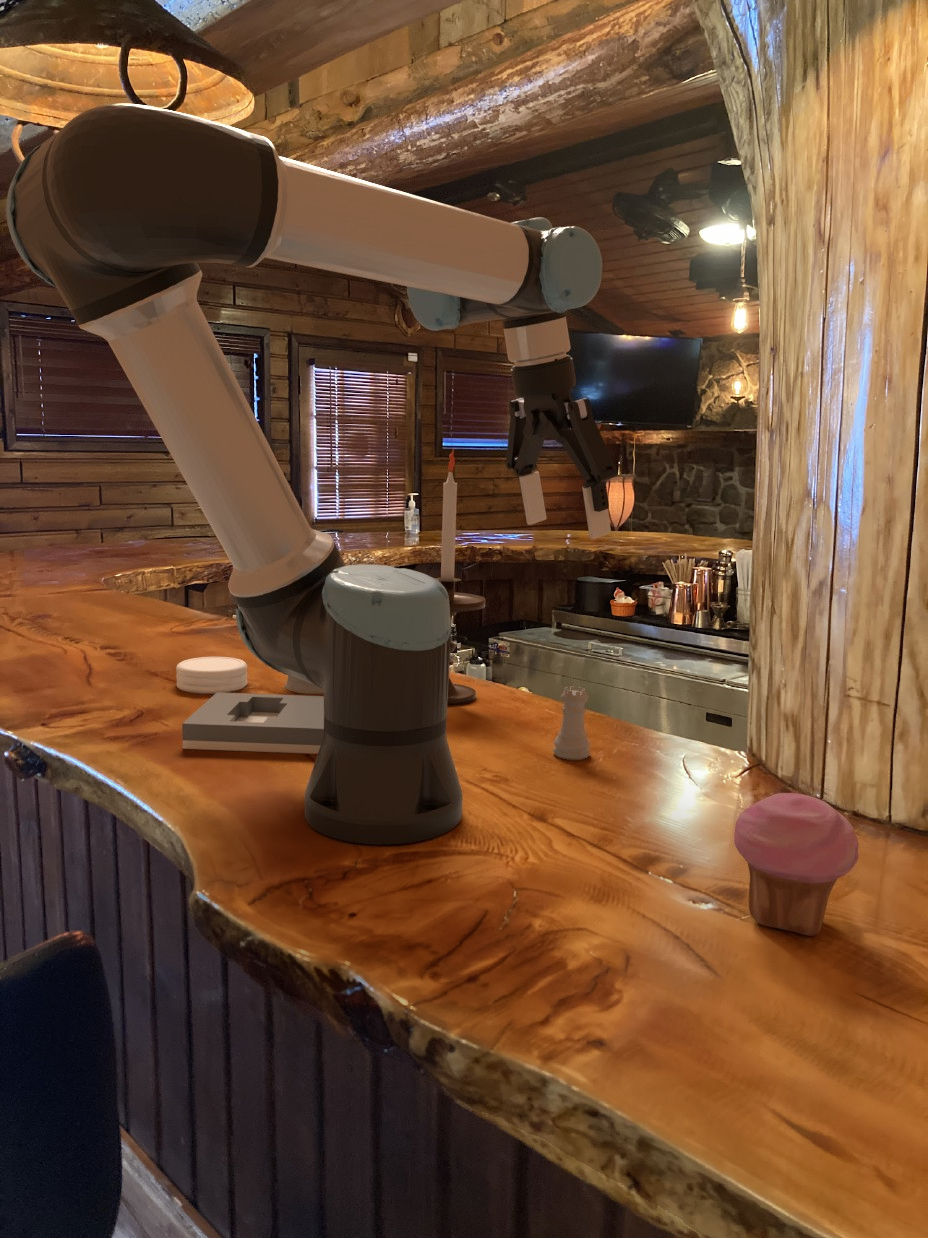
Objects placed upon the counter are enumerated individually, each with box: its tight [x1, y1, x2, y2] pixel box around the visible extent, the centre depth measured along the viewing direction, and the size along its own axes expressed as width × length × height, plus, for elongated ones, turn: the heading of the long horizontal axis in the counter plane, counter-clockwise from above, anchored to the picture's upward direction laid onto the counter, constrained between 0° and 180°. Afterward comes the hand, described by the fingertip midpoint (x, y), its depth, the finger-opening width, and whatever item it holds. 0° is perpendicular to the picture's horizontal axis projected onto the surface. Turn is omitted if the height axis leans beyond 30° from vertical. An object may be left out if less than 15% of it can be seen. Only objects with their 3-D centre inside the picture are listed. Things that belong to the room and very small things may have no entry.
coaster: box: [175, 656, 248, 695], centre depth 135 cm, size 10×10×4 cm
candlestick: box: [433, 449, 486, 707], centre depth 129 cm, size 11×11×35 cm
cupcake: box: [733, 792, 859, 937], centre depth 70 cm, size 9×9×10 cm
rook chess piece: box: [552, 686, 591, 761], centre depth 108 cm, size 4×4×8 cm
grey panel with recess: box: [181, 692, 324, 755], centre depth 112 cm, size 14×26×8 cm, turn 89°
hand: (567, 528), depth 118 cm, fingers open, 13 cm apart
